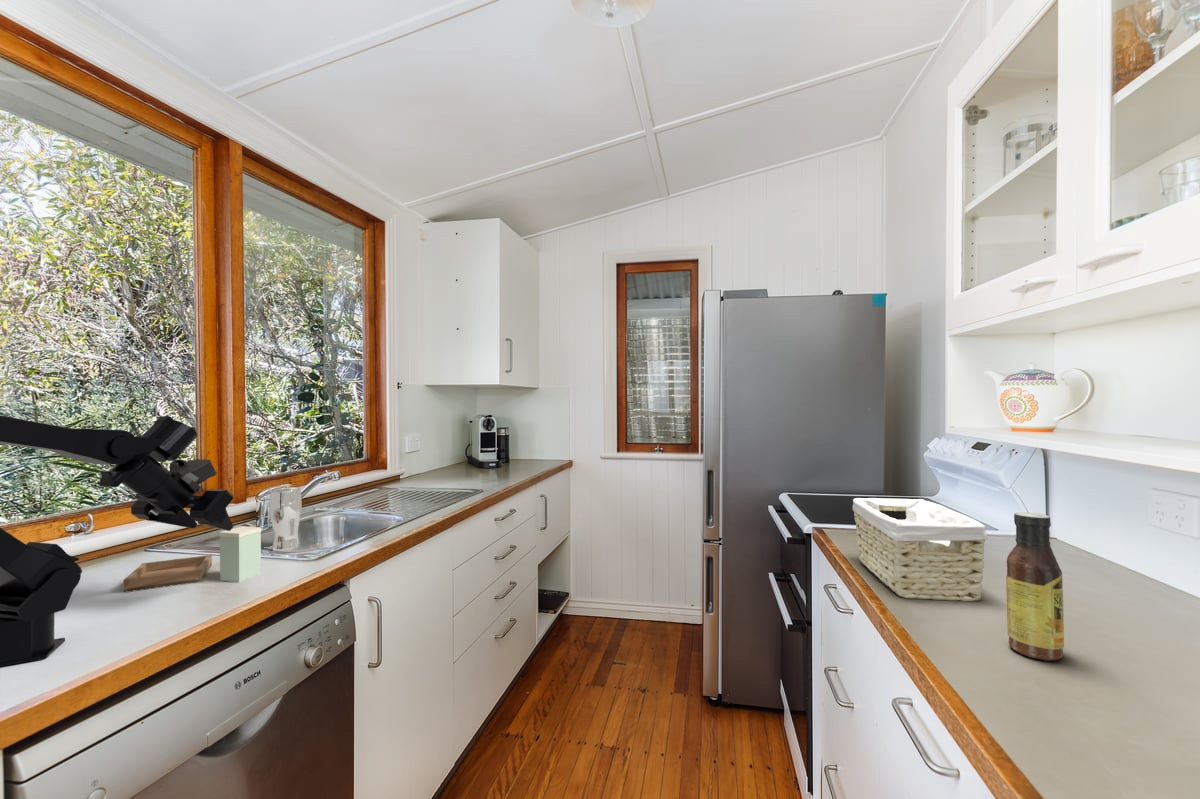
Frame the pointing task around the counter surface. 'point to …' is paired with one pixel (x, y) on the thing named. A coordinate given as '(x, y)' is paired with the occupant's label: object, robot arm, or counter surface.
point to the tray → (168, 573)
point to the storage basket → (921, 548)
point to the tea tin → (240, 553)
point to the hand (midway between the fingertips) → (213, 527)
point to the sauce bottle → (1034, 591)
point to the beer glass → (285, 517)
